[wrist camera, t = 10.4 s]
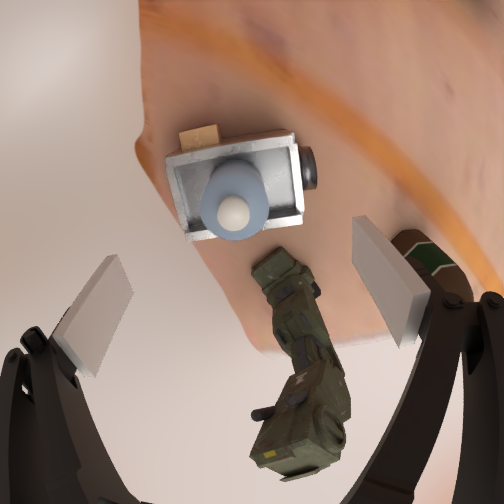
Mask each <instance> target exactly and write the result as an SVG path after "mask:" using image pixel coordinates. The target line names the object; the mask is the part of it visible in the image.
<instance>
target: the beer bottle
mask: <svg viewBox="0 0 504 504" xmlns="http://www.w3.org/2000/svg"><path fill="white" fill-rule="evenodd" d="M391 243H392V245H393V246H394V247H395V248H396V249H397V250H398V251H399V253H400V254H401V255H402V256H403V257H408V256H412V257H414V258H415V259H417V260H419V261H420V262H421V263H422V264H423V265H424V267H425V268H426V269H427V270H428V271H429V272H430V274H431V275H432V276H433V277H434V278H435V279H436V281H437V282H438V283H439V284H440V285H441V287H442V288H443V289H444V290H445V291H446V292H453V293H456V294H458V295H459V296H461V297H462V298H463V299H464V301H465V302H474V297H473V292H472V289H471V286H470V284H469V282H468V280H467V278H466V275H465V273H464V272H463V271H462V270H461V269H460V267H459V266H458V265H457V264H456V263H455V262H454V261H453V260H452V259H451V258H450V257H449V256H448V255H447V254H446V253H445V252H443V251H442V250H441V249H440V248H439V247H438V246H437V245H436V244H435V243H434V242H433V241H431V240H430V239H429V238H428V237H427V236H426V235H425V234H423V233H422V232H421V231H419V230H406V231H402V232H401V233H400V234H399V235H398V236H397V237H396V238H395V239H394V240H393V241H392V242H391Z"/></svg>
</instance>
